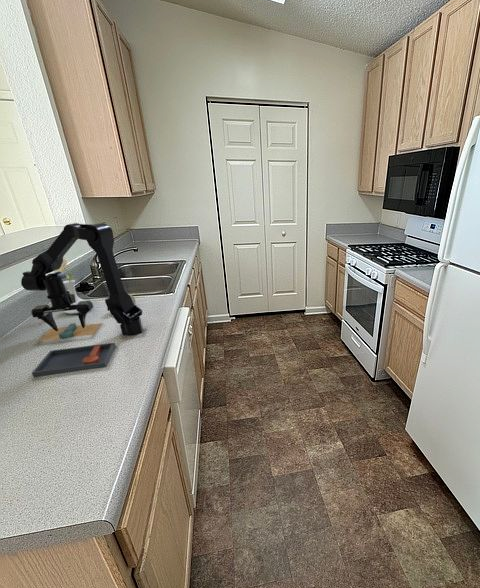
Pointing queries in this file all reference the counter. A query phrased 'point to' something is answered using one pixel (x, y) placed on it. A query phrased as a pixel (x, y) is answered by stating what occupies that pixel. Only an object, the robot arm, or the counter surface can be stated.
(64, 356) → the tray
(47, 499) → the counter surface
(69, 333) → the teal spoon
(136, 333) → the robot arm
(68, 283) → the flower in vase
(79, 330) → the cork mat
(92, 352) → the terracotta spoon
